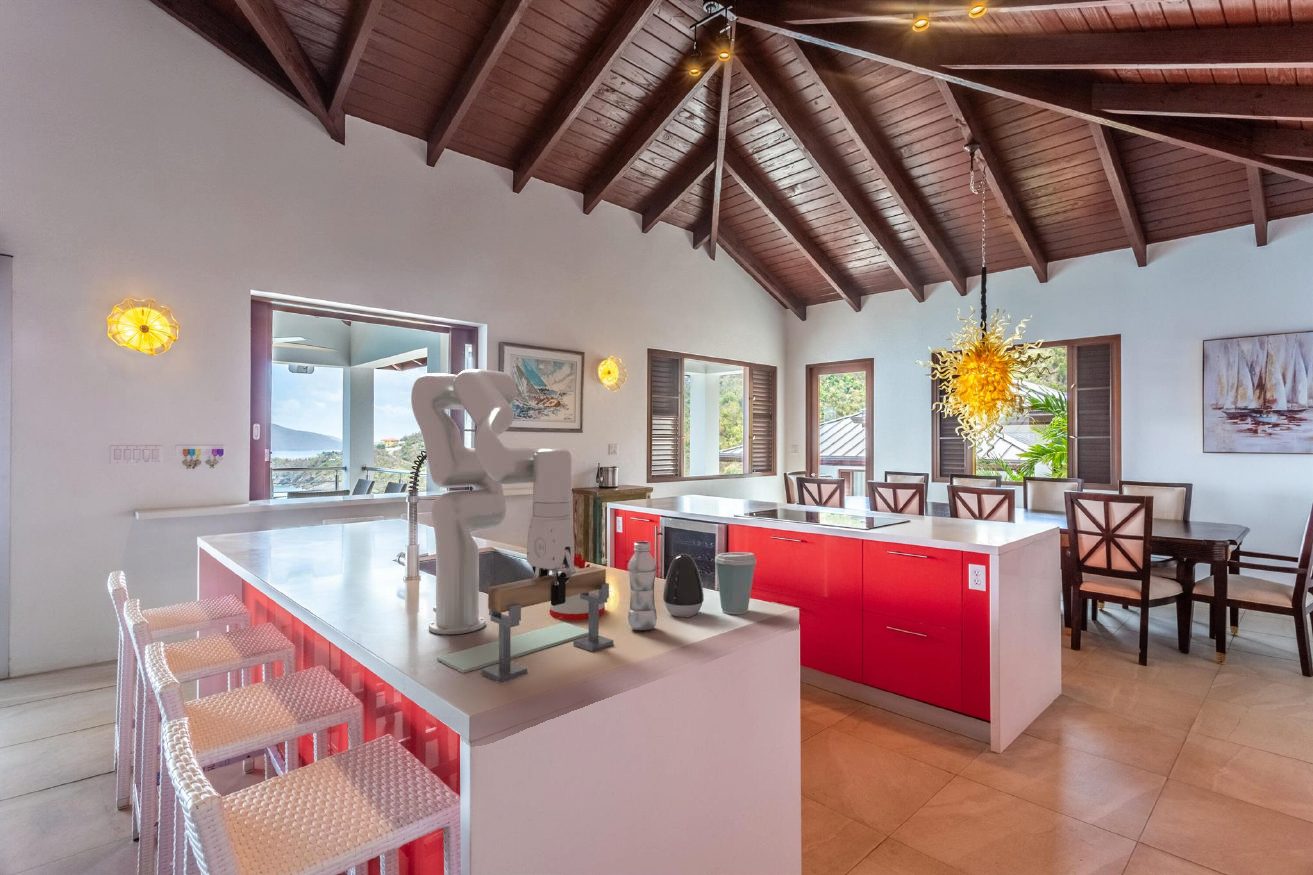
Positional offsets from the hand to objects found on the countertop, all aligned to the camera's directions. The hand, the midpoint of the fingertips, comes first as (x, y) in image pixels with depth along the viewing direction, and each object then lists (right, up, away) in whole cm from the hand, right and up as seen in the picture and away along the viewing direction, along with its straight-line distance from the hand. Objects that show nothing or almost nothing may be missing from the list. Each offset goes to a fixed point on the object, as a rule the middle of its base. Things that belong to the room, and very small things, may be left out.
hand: (550, 600), depth 122 cm
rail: (0, +1, 0) cm, 1 cm away
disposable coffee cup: (+41, -12, +34) cm, 55 cm away
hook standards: (0, -11, 0) cm, 11 cm away
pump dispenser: (+28, -12, +31) cm, 44 cm away
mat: (-8, -11, +7) cm, 16 cm away
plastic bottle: (+18, -12, +19) cm, 28 cm away
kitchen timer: (+1, -12, +33) cm, 35 cm away
